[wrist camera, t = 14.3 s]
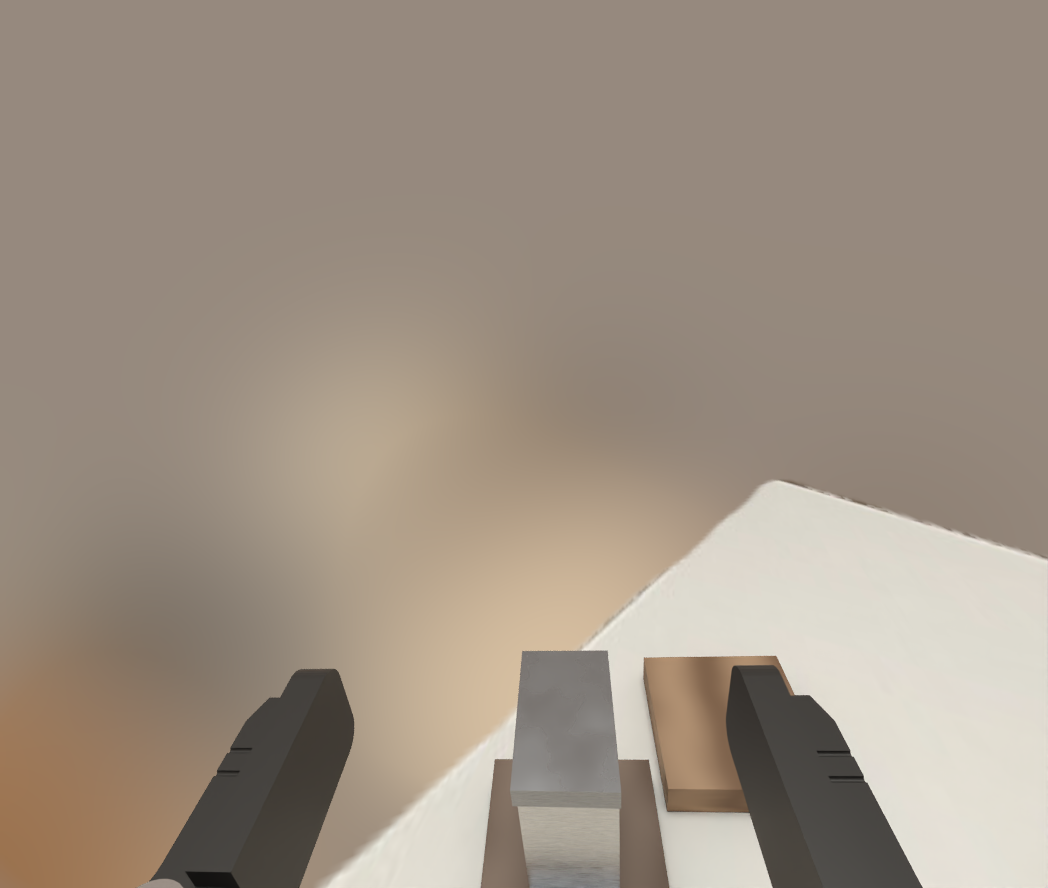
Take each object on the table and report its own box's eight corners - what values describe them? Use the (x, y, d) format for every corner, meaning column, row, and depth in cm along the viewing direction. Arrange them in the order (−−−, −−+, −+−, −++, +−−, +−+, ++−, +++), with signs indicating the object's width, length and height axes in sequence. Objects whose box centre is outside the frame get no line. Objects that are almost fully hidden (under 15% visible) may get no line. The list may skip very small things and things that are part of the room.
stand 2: (772, 676, 45) (776, 656, 44) (833, 813, 35) (839, 790, 34) (643, 678, 46) (643, 657, 45) (667, 811, 36) (668, 789, 35)
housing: (610, 782, 36) (607, 650, 30) (621, 931, 29) (621, 792, 23) (537, 781, 36) (522, 651, 31) (530, 927, 29) (510, 790, 24)
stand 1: (647, 781, 38) (648, 759, 37) (679, 989, 28) (682, 967, 27) (498, 780, 39) (495, 759, 38) (478, 981, 29) (472, 959, 28)
